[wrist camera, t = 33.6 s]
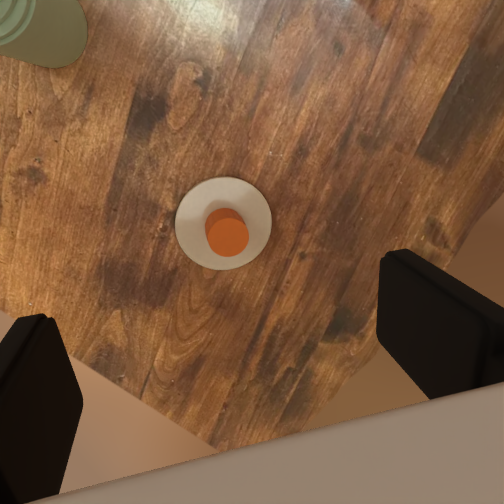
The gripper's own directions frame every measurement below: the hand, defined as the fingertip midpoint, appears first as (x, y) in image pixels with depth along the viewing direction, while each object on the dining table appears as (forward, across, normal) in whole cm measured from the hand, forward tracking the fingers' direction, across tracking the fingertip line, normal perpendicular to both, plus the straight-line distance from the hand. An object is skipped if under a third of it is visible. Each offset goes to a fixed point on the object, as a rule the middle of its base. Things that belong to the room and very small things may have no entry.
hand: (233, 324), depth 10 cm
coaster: (+27, -3, +6) cm, 28 cm away
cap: (+27, -3, +6) cm, 27 cm away
